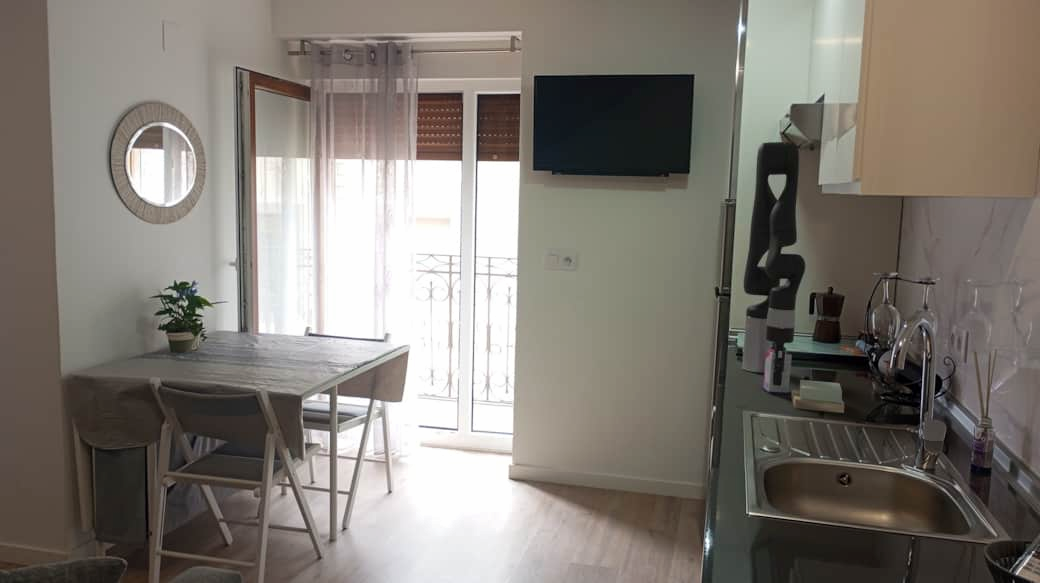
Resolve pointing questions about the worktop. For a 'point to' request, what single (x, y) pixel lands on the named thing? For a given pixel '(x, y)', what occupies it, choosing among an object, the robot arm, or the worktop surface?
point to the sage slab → (820, 391)
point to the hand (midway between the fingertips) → (776, 382)
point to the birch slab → (816, 404)
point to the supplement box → (769, 373)
